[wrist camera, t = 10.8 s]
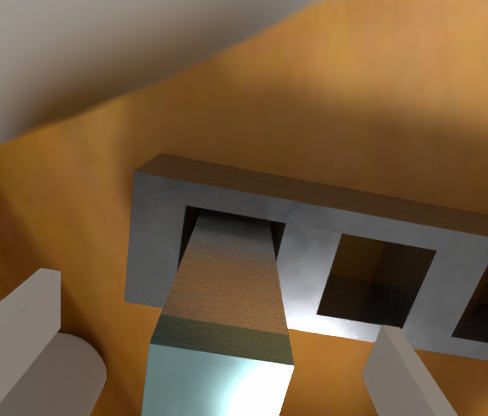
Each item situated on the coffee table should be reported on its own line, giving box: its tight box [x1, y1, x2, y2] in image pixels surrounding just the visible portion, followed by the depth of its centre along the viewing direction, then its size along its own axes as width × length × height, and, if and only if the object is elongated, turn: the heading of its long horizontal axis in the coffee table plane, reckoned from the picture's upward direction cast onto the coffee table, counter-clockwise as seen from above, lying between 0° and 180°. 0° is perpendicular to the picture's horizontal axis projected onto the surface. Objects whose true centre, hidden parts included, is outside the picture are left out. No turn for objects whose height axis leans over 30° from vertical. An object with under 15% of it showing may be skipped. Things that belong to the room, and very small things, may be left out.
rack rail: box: [125, 154, 488, 361], centre depth 21 cm, size 8×28×5 cm, turn 79°
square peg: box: [141, 208, 294, 416], centre depth 16 cm, size 4×4×14 cm
